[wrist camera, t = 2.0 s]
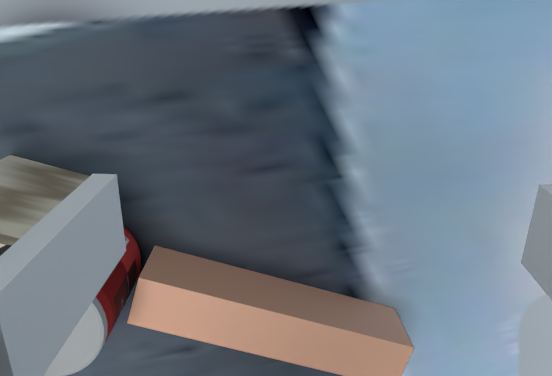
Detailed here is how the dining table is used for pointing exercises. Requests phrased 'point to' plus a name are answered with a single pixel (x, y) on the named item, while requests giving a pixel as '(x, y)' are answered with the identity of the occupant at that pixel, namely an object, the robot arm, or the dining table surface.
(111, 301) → the canned food
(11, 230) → the beige arch block
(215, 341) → the orange rectangular block
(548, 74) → the dining table surface
